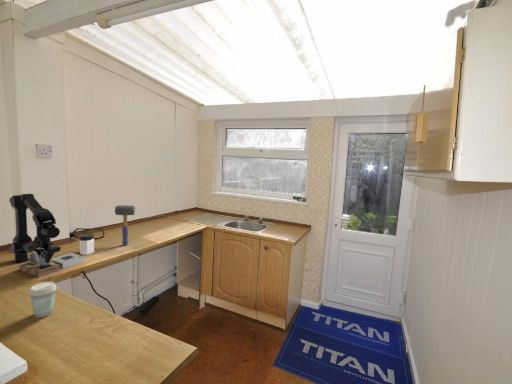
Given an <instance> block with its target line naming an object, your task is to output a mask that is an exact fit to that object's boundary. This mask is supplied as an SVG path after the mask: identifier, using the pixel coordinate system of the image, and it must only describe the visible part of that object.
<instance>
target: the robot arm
mask: <svg viewBox="0 0 512 384" xmlns="http://www.w3.org/2000/svg"><path fill="white" fill-rule="evenodd" d="M9 204H10V206H11V207H12V209H14V213H15V214H14V215H15V236H14V237H13V238H12V243H11V245H10V247H9V253H12V254H14V259H12V260H11V262H13V263H16V264H22V263H26V262H29V261H30V257H29V256H28V253H32V252H36V253H37V255H38V257H39V259H40V254H41V252H42V251H44V252H42V254H44V255H45V260H46V263H49V262H50V260H51V259H52V258H53V256H54V254H56V253H58V252H61V246H59V245H56V244H54V243H53V242H51V241H52V239H55V238H57V237H59V235H60V233H61V230H60V228H58V227H57V226H56V224H57V222H56V221H57V220H56V218H55V216H54V214H53V213H52V212H51V211H50V210H49V208H44V207H43V206H42V205H41V204H40V203H39V202H38V201H37V199H36V198H35V196H34V194H33V193H21V194H16V195H15V194H14V195H12V196H11V197H9ZM27 210H30V212H31V213H32V220H33V222H34V225H35V226H36V227H35V231H36V235H35V236H34V238H32V237H31V236H30V235H29V233H28V223H27V222H28V221H27V217H28V216H27ZM53 244H54V245H53Z"/></svg>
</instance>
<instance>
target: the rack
mask: <svg viewBox="0 0 512 384" xmlns="http://www.w3.org/2000/svg"><path fill="white" fill-rule="evenodd" d="M29 258H30V260H29V261H25V262H22V263H18V264H19V265H18V268H19V271H22V272H25V273H27V274H30V275H33V276H35V277H37V278H41V277H44V276H47V275H49V273H50V274H53V273H56V272H59V271H61V268H60V265H59V264H56V263H53V262H49V265H50V267H48V268H45V269H40V259H39V257H38V255H37V253H36V252H35V251H32V252H31V254H29ZM52 272H53V273H52ZM46 274H47V275H46Z"/></svg>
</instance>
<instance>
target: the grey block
mask: <svg viewBox="0 0 512 384" xmlns="http://www.w3.org/2000/svg"><path fill="white" fill-rule="evenodd" d="M42 252H44V251H42ZM42 252H41V254H40V269H45V268H48V267H50V265H49V263H46V260H45V255H44V254H42Z"/></svg>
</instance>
